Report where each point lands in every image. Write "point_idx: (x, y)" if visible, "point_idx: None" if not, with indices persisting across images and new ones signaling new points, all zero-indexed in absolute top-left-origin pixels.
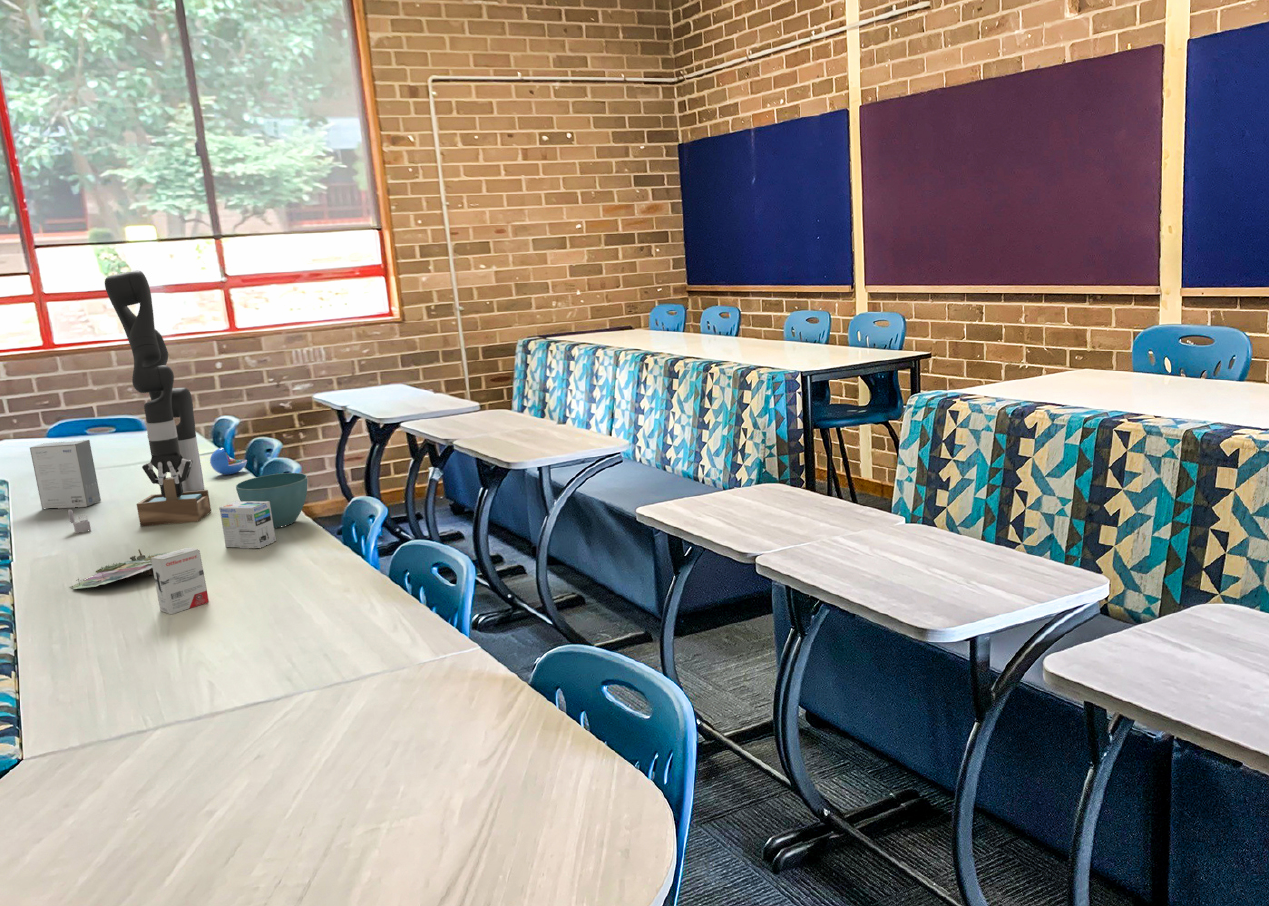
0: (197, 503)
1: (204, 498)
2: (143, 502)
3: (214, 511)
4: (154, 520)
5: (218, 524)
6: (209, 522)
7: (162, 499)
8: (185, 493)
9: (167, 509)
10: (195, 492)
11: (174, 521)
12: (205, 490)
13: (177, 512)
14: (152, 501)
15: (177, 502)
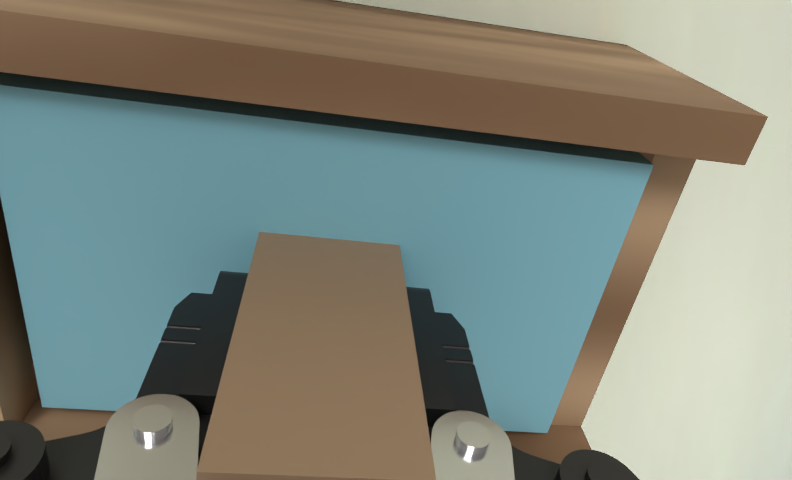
0: (580, 420)
1: (655, 242)
2: (5, 397)
3: (654, 53)
4: None
5: (645, 456)
6: (596, 396)
7: (174, 261)
8: (446, 120)
9: None
10: (588, 142)
11: None
12: (731, 145)
13: None
14: (72, 309)
15: None
